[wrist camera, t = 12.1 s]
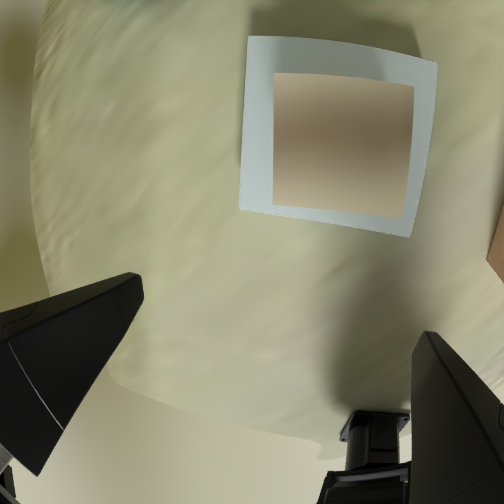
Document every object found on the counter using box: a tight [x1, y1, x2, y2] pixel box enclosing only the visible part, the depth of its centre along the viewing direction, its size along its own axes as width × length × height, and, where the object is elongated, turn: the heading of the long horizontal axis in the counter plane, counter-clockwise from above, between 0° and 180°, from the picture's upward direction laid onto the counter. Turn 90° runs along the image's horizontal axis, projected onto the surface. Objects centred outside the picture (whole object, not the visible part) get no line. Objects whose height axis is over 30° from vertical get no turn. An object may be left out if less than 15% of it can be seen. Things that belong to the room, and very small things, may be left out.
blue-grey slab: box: [239, 36, 438, 238], centre depth 15 cm, size 10×10×3 cm
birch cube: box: [272, 73, 414, 219], centre depth 12 cm, size 5×5×5 cm
